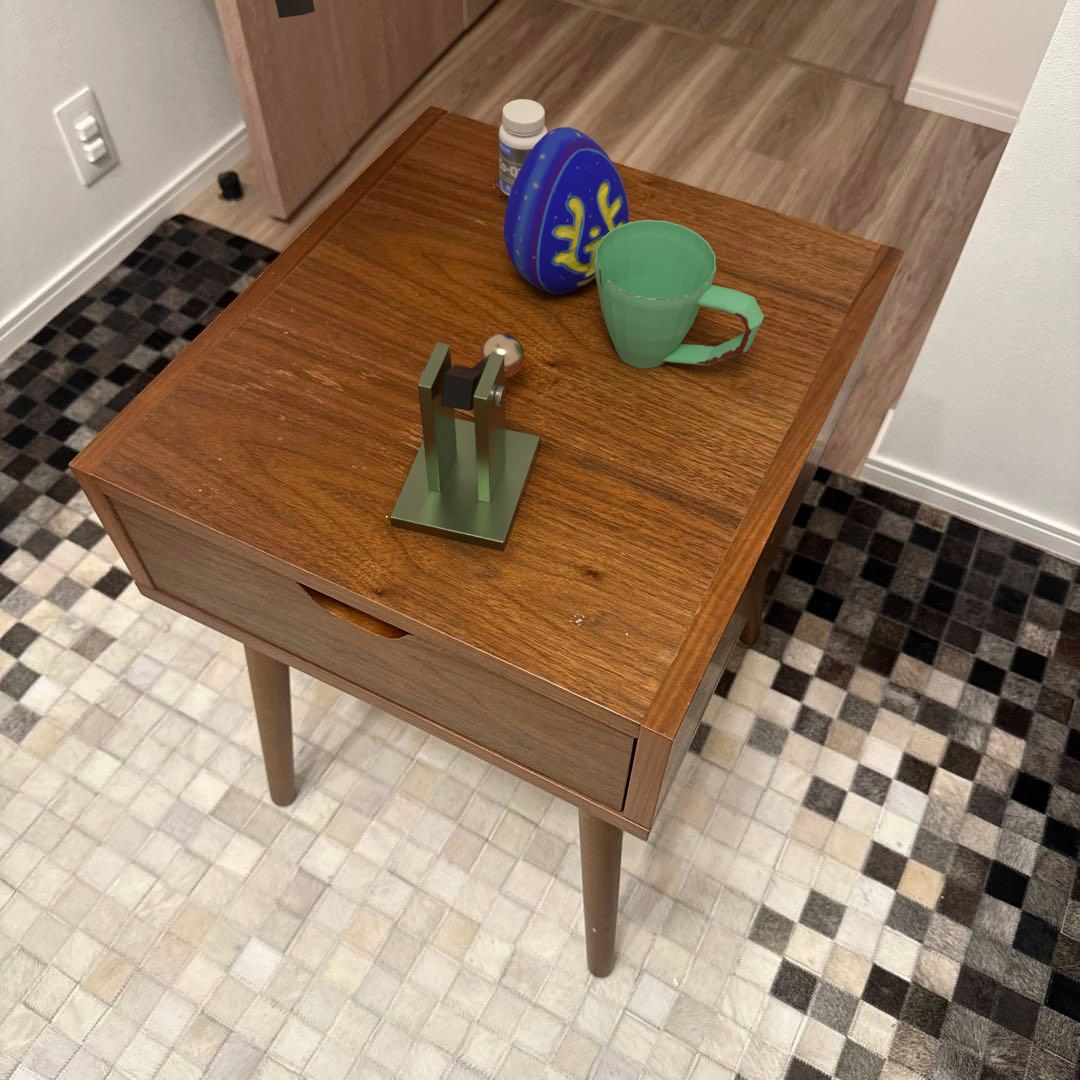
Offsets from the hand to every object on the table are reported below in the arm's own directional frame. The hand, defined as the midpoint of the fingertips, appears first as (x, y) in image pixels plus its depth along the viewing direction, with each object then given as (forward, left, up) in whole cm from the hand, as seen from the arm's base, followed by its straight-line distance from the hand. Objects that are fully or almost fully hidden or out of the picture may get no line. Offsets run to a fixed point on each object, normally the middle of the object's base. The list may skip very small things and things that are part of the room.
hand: (297, 14), depth 66 cm
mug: (+17, +20, -32) cm, 42 cm away
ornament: (+3, +21, -32) cm, 38 cm away
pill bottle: (-9, +28, -32) cm, 43 cm away
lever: (+13, +2, -25) cm, 29 cm away
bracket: (+15, -2, -31) cm, 35 cm away
